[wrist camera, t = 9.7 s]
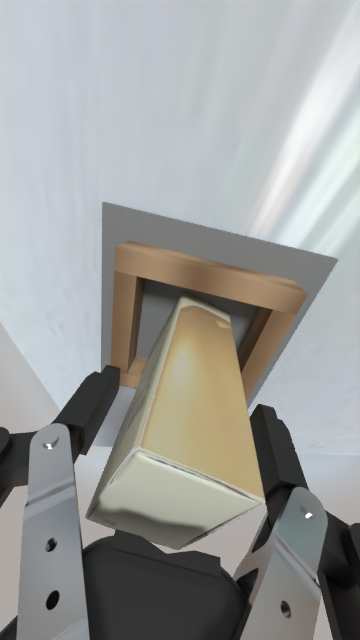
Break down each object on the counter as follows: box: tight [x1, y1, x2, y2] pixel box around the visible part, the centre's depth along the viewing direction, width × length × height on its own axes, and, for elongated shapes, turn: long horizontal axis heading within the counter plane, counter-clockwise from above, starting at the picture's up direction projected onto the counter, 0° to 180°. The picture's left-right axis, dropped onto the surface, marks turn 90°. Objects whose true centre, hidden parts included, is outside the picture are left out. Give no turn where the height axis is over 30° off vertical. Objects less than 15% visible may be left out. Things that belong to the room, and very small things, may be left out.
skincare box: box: [86, 292, 265, 550], centre depth 12 cm, size 6×4×12 cm
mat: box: [101, 202, 338, 409], centre depth 18 cm, size 16×16×1 cm
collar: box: [110, 241, 308, 401], centre depth 16 cm, size 12×12×2 cm
